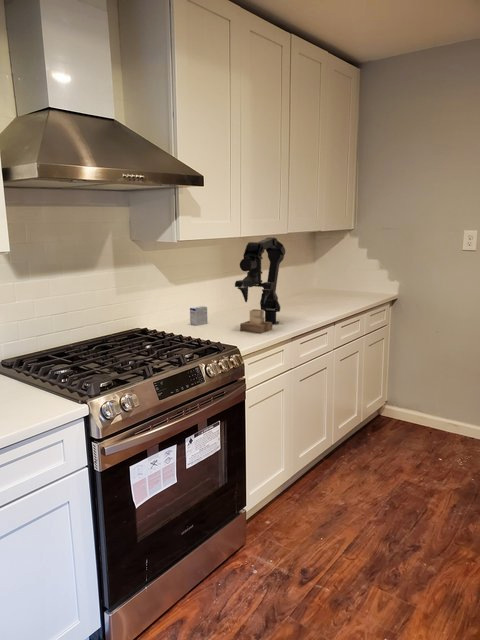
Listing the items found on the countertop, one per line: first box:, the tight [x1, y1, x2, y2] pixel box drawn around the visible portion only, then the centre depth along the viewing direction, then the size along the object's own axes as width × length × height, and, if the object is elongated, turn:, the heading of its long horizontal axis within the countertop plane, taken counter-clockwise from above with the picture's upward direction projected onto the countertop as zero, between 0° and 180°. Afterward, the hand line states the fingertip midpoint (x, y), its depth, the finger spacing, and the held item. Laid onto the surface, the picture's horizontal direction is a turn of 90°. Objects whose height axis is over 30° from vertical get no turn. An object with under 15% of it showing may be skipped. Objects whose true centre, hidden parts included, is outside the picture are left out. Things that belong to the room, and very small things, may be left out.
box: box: [189, 305, 209, 327], centre depth 255 cm, size 8×4×9 cm, turn 136°
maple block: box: [249, 308, 265, 324], centre depth 240 cm, size 5×5×6 cm
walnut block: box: [239, 320, 273, 335], centre depth 241 cm, size 11×11×4 cm
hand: (254, 302), depth 239 cm, fingers open, 9 cm apart
